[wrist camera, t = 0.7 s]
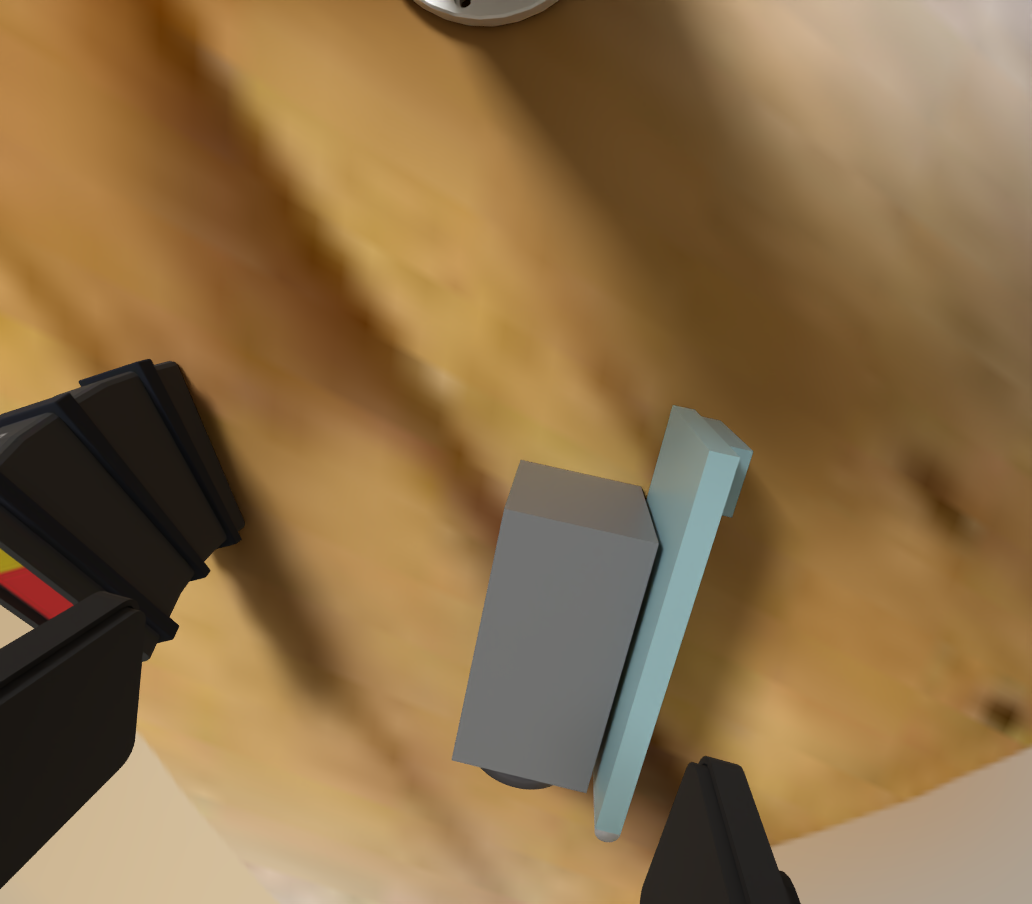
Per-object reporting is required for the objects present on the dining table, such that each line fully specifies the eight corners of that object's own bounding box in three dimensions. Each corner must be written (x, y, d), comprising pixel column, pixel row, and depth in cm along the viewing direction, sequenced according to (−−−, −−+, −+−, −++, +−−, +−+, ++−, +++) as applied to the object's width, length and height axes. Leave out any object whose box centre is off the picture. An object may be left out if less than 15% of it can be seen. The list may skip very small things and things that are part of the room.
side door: (672, 405, 33) (709, 450, 24) (713, 413, 33) (766, 462, 23) (588, 706, 38) (592, 838, 29) (623, 714, 38) (637, 849, 29)
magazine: (138, 302, 33) (-50, 494, 21) (272, 474, 41) (188, 680, 29) (80, 322, 34) (-133, 519, 22) (223, 488, 42) (122, 695, 30)
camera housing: (520, 459, 35) (504, 508, 27) (643, 487, 34) (662, 544, 27) (473, 682, 39) (447, 778, 31) (582, 708, 39) (583, 812, 31)
